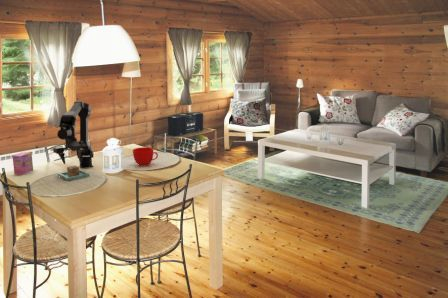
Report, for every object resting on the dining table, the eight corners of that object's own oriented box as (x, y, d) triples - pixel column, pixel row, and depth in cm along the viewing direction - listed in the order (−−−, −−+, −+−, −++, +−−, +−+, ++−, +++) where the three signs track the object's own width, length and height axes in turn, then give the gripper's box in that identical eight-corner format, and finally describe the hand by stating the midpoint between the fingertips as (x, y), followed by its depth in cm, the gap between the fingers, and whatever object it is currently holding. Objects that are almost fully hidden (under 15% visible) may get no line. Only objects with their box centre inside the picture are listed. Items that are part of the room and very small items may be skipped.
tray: (79, 172, 256) (79, 169, 255) (89, 176, 246) (89, 173, 246) (58, 176, 247) (57, 173, 247) (67, 181, 238) (67, 177, 237)
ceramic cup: (152, 168, 262) (152, 152, 260) (129, 166, 268) (128, 150, 266) (163, 163, 274) (162, 148, 272) (140, 161, 280) (139, 146, 278)
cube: (76, 173, 250) (75, 165, 249) (79, 175, 246) (79, 167, 245) (67, 175, 247) (67, 167, 246) (71, 177, 243) (70, 168, 242)
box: (22, 175, 250) (20, 155, 247) (14, 174, 251) (11, 155, 248) (33, 170, 260) (31, 151, 257) (25, 170, 261) (23, 151, 258)
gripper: (59, 140, 229) (62, 168, 233) (92, 135, 242) (94, 162, 245) (51, 137, 237) (54, 164, 241) (83, 133, 250) (85, 159, 253)
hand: (72, 162), depth 245 cm, fingers open, 9 cm apart
